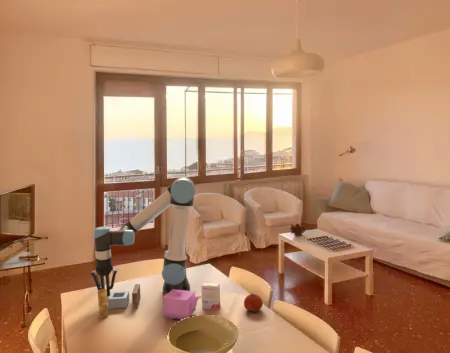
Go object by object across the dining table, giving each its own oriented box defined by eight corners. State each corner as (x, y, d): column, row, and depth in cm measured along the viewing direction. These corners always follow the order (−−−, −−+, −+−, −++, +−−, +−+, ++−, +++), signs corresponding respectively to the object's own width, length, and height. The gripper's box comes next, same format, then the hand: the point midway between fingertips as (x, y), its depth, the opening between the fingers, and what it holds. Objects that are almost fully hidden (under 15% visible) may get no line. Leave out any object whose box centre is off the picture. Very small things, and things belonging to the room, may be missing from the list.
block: (129, 299, 195) (129, 290, 195) (126, 307, 186) (126, 298, 186) (112, 301, 194) (111, 291, 194) (108, 308, 185) (107, 299, 185)
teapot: (159, 318, 174) (157, 293, 173) (169, 309, 184) (168, 284, 182) (198, 324, 168) (197, 298, 166) (206, 314, 177) (205, 289, 176)
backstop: (140, 298, 197) (139, 283, 196) (137, 308, 185) (136, 293, 185) (135, 298, 197) (135, 284, 196) (132, 308, 185) (131, 293, 184)
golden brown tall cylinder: (108, 314, 180) (107, 288, 179) (107, 318, 176) (105, 291, 175) (100, 314, 180) (98, 289, 178) (98, 318, 176) (96, 292, 174)
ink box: (220, 305, 187) (220, 282, 185) (218, 309, 182) (218, 286, 181) (204, 304, 188) (203, 281, 187) (201, 308, 183) (201, 285, 182)
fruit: (242, 313, 177) (241, 297, 177) (247, 305, 186) (247, 290, 185) (259, 316, 174) (259, 299, 174) (264, 307, 183) (264, 292, 182)
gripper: (118, 254, 191) (120, 298, 194) (92, 256, 190) (95, 300, 193) (115, 259, 184) (118, 304, 186) (88, 260, 183) (91, 306, 185)
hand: (106, 302), depth 190 cm, fingers closed
